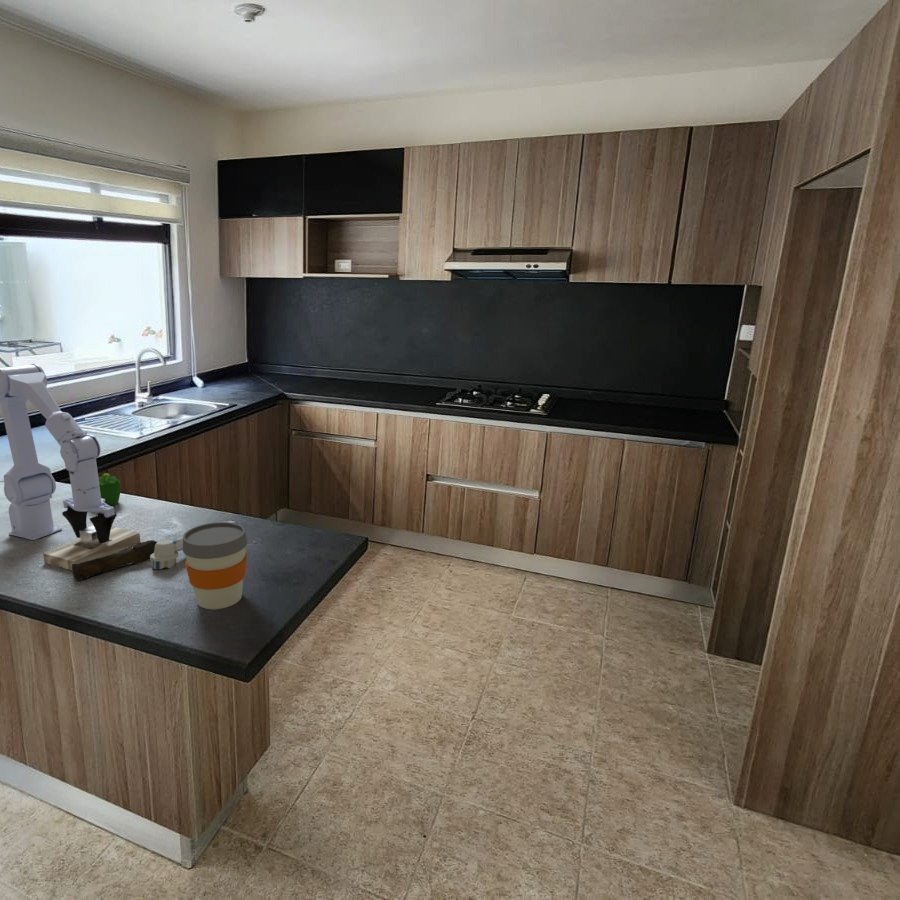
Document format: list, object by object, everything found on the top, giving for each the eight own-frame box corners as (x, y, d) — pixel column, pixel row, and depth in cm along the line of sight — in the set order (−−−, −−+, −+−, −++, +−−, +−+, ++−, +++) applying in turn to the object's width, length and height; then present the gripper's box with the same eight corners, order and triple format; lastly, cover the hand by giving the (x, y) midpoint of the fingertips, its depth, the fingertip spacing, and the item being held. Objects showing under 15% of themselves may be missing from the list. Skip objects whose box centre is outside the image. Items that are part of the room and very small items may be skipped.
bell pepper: (87, 503, 177) (82, 471, 174) (118, 497, 182) (114, 466, 179) (94, 512, 171) (89, 478, 168) (125, 505, 176) (121, 473, 173)
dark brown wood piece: (77, 584, 131) (74, 565, 130) (72, 577, 134) (69, 559, 133) (166, 559, 144) (164, 542, 143) (160, 554, 147) (158, 536, 146)
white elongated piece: (241, 521, 158) (161, 543, 135) (240, 545, 159) (160, 571, 136) (227, 517, 160) (145, 538, 138) (226, 541, 161) (144, 566, 139)
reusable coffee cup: (231, 578, 135) (226, 517, 131) (262, 597, 128) (258, 533, 124) (176, 598, 126) (169, 533, 122) (206, 621, 118) (200, 551, 114)
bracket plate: (44, 563, 140) (43, 553, 139) (111, 534, 156) (110, 526, 155) (75, 571, 136) (73, 561, 136) (140, 541, 152) (139, 532, 152)
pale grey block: (82, 553, 145) (79, 530, 144) (97, 547, 149) (94, 524, 147) (94, 556, 144) (91, 533, 142) (109, 549, 147) (106, 527, 146)
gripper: (122, 485, 143) (128, 538, 146) (79, 477, 148) (86, 528, 151) (96, 494, 136) (103, 549, 140) (51, 485, 141) (60, 538, 145)
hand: (92, 539), depth 145 cm, fingers open, 7 cm apart
